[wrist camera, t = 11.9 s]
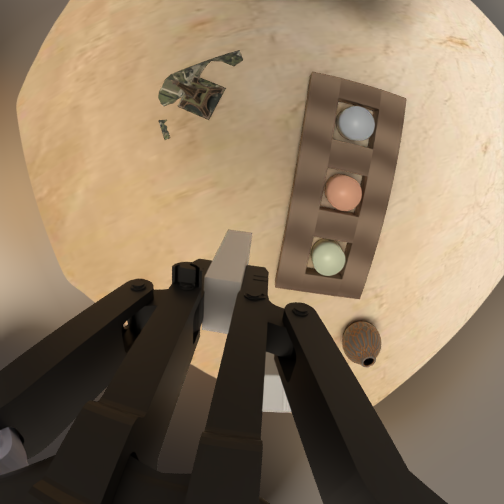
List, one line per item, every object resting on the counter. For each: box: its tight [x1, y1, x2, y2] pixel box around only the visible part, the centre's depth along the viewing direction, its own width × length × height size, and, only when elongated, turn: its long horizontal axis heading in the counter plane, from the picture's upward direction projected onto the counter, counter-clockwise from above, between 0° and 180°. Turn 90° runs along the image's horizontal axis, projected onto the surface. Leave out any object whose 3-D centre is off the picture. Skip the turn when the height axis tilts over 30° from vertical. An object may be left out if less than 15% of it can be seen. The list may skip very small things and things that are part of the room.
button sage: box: [311, 239, 345, 276], centre depth 42 cm, size 5×5×3 cm
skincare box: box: [262, 352, 291, 412], centre depth 42 cm, size 8×7×16 cm
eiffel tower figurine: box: [158, 50, 243, 140], centre depth 30 cm, size 15×10×13 cm
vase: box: [342, 321, 381, 367], centre depth 45 cm, size 7×7×9 cm
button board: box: [275, 72, 406, 299], centre depth 39 cm, size 32×14×2 cm, turn 172°
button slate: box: [336, 106, 375, 140], centre depth 34 cm, size 5×5×3 cm
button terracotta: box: [325, 174, 362, 211], centre depth 38 cm, size 5×5×3 cm
